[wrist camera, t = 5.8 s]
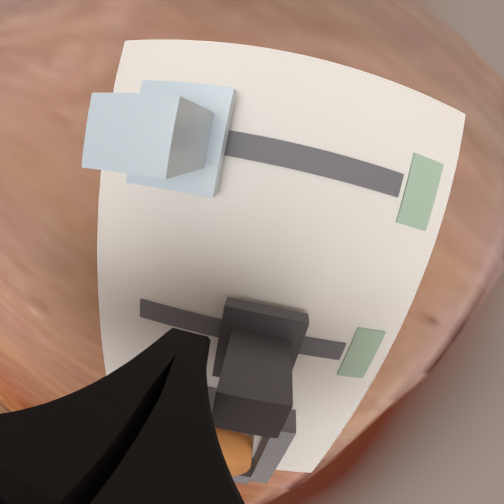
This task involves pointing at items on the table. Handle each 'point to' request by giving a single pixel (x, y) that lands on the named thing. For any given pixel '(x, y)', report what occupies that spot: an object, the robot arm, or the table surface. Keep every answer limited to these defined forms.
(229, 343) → the dark gray switch
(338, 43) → the table surface
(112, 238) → the control panel
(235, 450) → the orange button
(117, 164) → the pale blue lever
